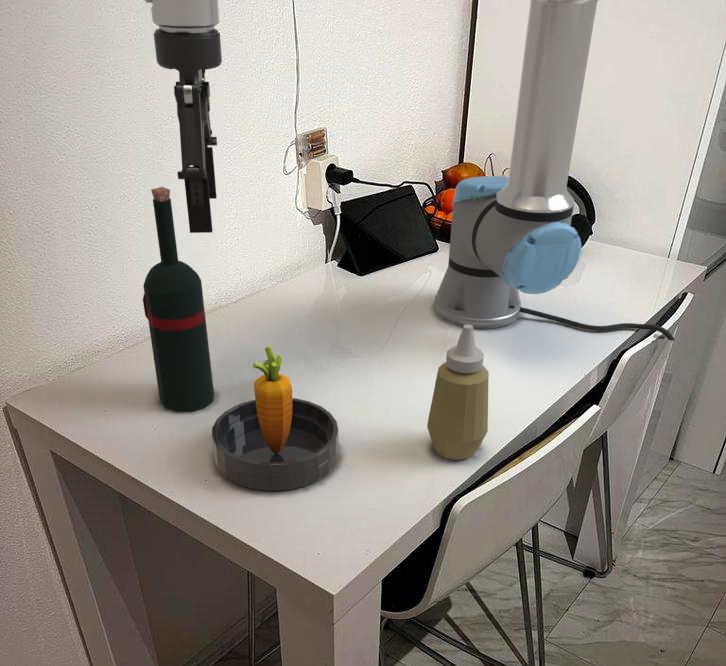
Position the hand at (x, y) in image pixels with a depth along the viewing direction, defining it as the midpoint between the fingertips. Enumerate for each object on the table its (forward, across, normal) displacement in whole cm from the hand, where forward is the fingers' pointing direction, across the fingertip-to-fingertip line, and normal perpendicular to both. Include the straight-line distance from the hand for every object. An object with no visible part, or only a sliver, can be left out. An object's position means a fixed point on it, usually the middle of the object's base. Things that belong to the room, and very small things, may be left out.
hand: (204, 214), depth 104 cm
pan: (+26, +18, +8) cm, 33 cm away
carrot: (+26, +18, +8) cm, 33 cm away
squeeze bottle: (+26, +19, +32) cm, 45 cm away
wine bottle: (+26, +2, -6) cm, 27 cm away
